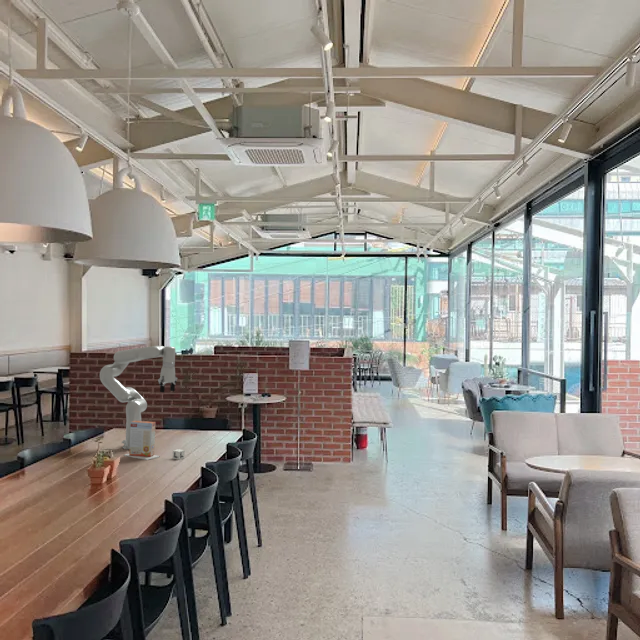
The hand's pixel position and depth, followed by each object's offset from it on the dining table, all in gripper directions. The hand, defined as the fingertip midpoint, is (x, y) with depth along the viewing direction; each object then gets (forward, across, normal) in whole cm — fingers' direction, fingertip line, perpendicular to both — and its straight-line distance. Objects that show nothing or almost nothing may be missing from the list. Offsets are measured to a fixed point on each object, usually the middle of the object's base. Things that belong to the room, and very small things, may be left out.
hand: (167, 391), depth 388 cm
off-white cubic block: (+38, +12, +22) cm, 46 cm away
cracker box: (+38, +22, +1) cm, 44 cm away
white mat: (+38, +22, +2) cm, 44 cm away
